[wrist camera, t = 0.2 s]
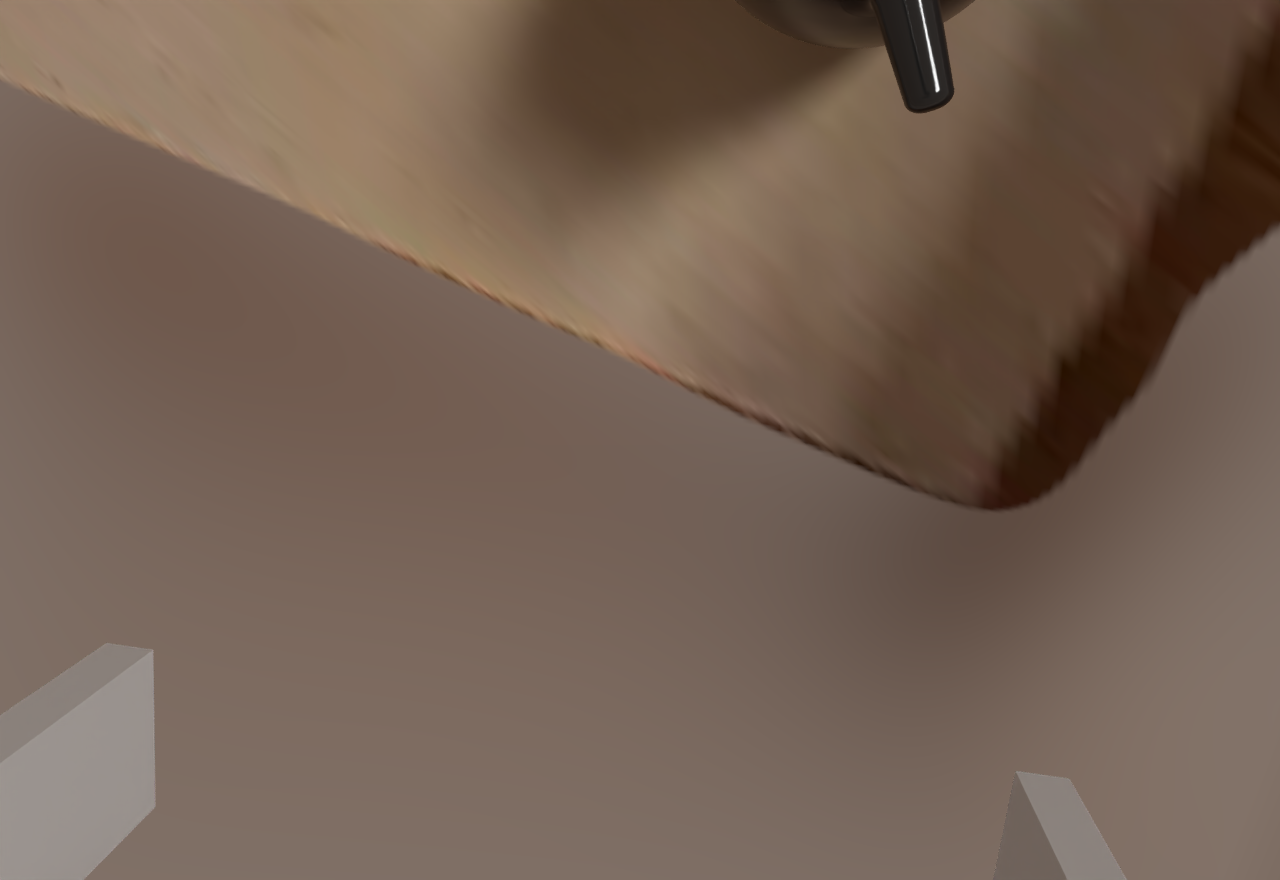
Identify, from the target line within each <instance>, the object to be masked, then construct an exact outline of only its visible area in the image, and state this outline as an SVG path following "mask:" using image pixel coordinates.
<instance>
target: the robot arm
mask: <svg viewBox="0 0 1280 880" xmlns="http://www.w3.org/2000/svg"><path fill="white" fill-rule="evenodd" d="M154 744H155V743H154V668H153V649H146V648H139V647H131V646H124V645H117V644H110V643H106V644H104V645H103V646H101V647H100V648H98V649H97V650H95V651H94V652H92V653H91V654H89V655H88V656H87V657H85V658H84V659H82V660H81V661H79V662H77V663H76V664H75V665H73V666H72V667H70V668H69V669H67V670H66V671H64V672H63V673H61V674H60V675H58V676H57V677H55V678H54V679H53V680H51V681H49V682H48V683H46V684H45V685H44V686H42V687H41V688H39V689H38V690H36V691H35V692H33V693H32V694H30V695H29V696H27V697H26V698H24V699H23V700H21V701H20V702H19V703H17V704H16V705H14V706H13V707H11V708H10V709H8V710H7V711H5V712H4V713H2V714H1V715H0V880H84V879H85V878H86V876H88V874H89V873H90V872H91V871H92V870H94V868H95V867H96V866H97V865H98V864H99V863H100V862H101V861H102V860H103V859H104V858H105V857H106V856H107V855H108V854H109V853H110V852H111V851H112V850H113V849H114V848H115V847H116V846H117V845H118V844H119V843H120V842H121V841H122V840H123V839H124V838H125V837H126V836H127V835H128V834H129V833H130V832H131V831H132V830H133V829H134V828H135V827H136V826H137V825H138V824H139V823H140V822H141V821H142V820H143V819H144V818H145V817H146V816H147V815H148V814H149V813H150V812H151V811H152V810H153V809H154V808H155V749H154V748H155V747H154V746H155V745H154ZM993 880H1126V878H1125V876H1124V874H1123V872H1122V871H1121V869H1120V867H1119V865H1118V864H1117V862H1116V860H1115V858H1114V856H1113V855H1112V853H1111V851H1110V849H1109V848H1108V846H1107V844H1106V842H1105V841H1104V839H1103V837H1102V835H1101V834H1100V832H1099V830H1098V828H1097V826H1096V825H1095V823H1094V821H1093V819H1092V818H1091V816H1090V814H1089V812H1088V810H1087V809H1086V807H1085V805H1084V803H1083V802H1082V800H1081V798H1080V796H1079V795H1078V793H1077V791H1076V789H1075V788H1074V786H1073V784H1072V783H1071V780H1070V779H1069V778H1062V777H1055V776H1047V775H1041V774H1034V773H1026V772H1019V771H1015V776H1014V781H1013V786H1012V790H1011V795H1010V800H1009V805H1008V810H1007V815H1006V820H1005V825H1004V829H1003V835H1002V839H1001V844H1000V849H999V854H998V859H997V864H996V869H995V874H994V879H993Z"/></svg>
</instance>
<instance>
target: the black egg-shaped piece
mask: <svg viewBox="0 0 1280 880" xmlns="http://www.w3.org/2000/svg"><path fill="white" fill-rule="evenodd" d="M735 1H736V2H737V3H738V4H739V5H740V6H741V7H743V8H744V9H745V10H746V11H747V12H749V13H750V14H751V15H752V16H754V17H755V18H756V19H758V20H759V21H761V22H762V23H764V24H765V25H767V26H769V27H771V28H772V29H774V30H776V31H778V32H780V33H782V34H784V35H787V36H789V37H791V38H794V39H797V40H800V41H803V42H806V43H810V44H814V45H818V46H824V47H830V48H842V49H860V48H872V47H879V46H884V45H885V47H886V50H887V53H888V56H889V59H890V62H891V65H892V68H893V71H894V74H895V77H896V80H897V83H898V87H899V90H900V93H901V96H902V99H903V102H904V105H905V107H906V108H907V110H909V111H910V112H913V113H927V112H930V111H934V110H936V109H939V108H941V107H943V106H944V105H946V104H947V103H948V102H949V101H950V100H951V99H952V97H953V95H954V86H953V80H952V73H951V67H950V61H949V55H948V49H947V42H946V36H945V30H944V24H943V23H944V22H946V21H947V20H949V19H951V18H952V17H954V16H955V15H957V14H958V13H960V12H961V11H962V10H964V9H965V8H966V7H968V6H969V5H970V4H971V3H973V2H974V1H975V0H735Z"/></svg>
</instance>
